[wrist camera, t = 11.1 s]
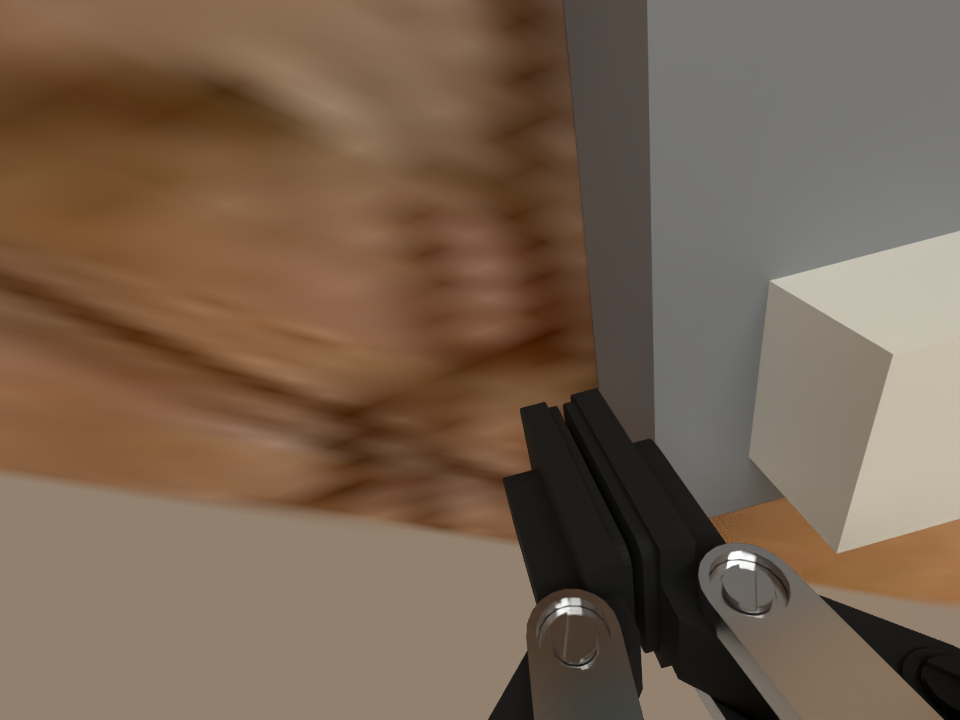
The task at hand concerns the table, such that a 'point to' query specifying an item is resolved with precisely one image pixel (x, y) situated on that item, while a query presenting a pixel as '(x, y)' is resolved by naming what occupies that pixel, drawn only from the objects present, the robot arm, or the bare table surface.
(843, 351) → the beige block
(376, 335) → the table surface
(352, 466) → the table surface
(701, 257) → the plate
